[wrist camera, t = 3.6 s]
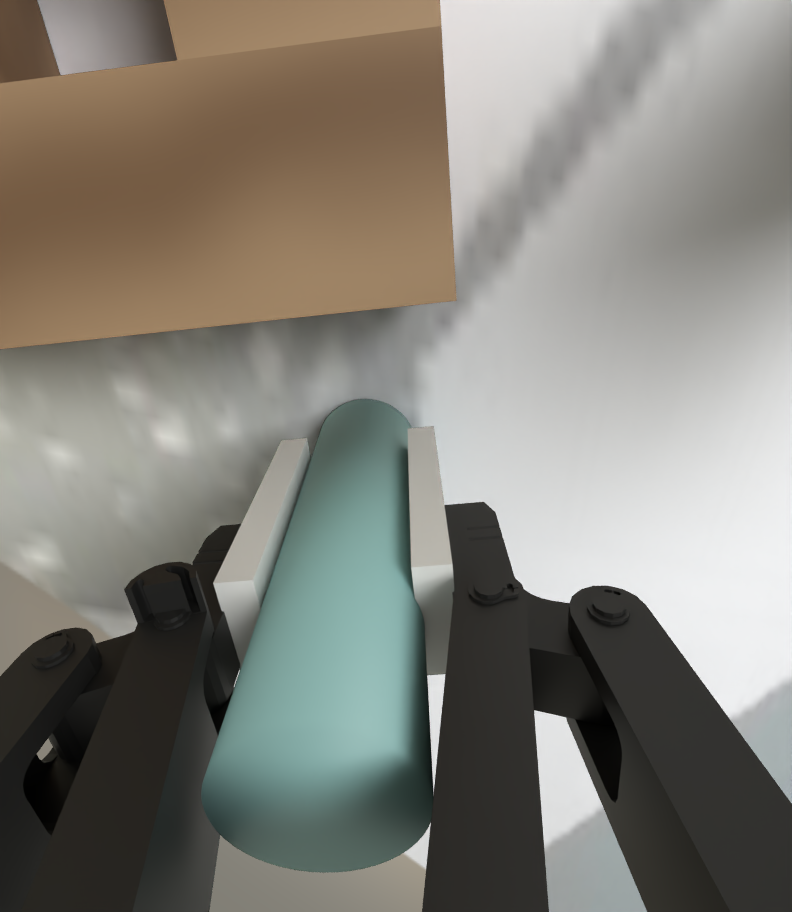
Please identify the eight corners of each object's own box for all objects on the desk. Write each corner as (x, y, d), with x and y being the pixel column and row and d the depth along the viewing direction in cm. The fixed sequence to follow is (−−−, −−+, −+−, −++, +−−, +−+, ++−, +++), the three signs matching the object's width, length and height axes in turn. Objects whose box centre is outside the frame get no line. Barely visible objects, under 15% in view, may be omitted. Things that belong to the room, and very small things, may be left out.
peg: (419, 481, 19) (443, 865, 8) (328, 491, 19) (232, 877, 8) (409, 394, 18) (421, 717, 7) (310, 404, 18) (172, 735, 7)
